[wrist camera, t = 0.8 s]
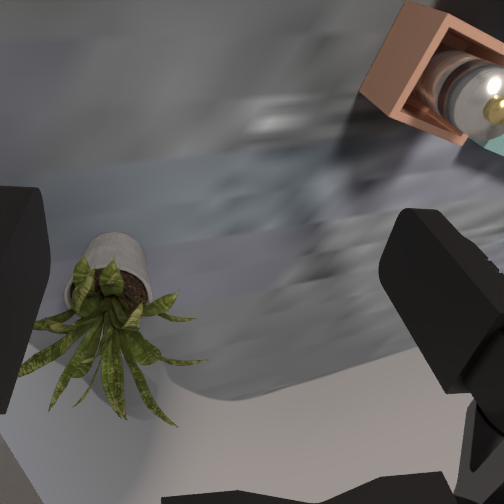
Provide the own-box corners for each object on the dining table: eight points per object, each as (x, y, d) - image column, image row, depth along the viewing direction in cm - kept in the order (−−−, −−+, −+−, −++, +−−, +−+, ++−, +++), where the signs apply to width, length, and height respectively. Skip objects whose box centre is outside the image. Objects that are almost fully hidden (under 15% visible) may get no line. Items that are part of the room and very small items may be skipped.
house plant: (232, 254, 44) (262, 392, 31) (140, 330, 48) (132, 480, 35) (115, 162, 36) (89, 294, 23) (18, 261, 40) (-50, 421, 27)
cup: (406, -1, 32) (448, 12, 28) (475, 36, 35) (525, 54, 30) (358, 91, 36) (388, 116, 31) (424, 118, 38) (461, 146, 34)
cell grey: (413, 27, 33) (501, 64, 24) (456, 49, 35) (553, 90, 26) (383, 83, 35) (454, 134, 27) (425, 101, 37) (504, 154, 28)
